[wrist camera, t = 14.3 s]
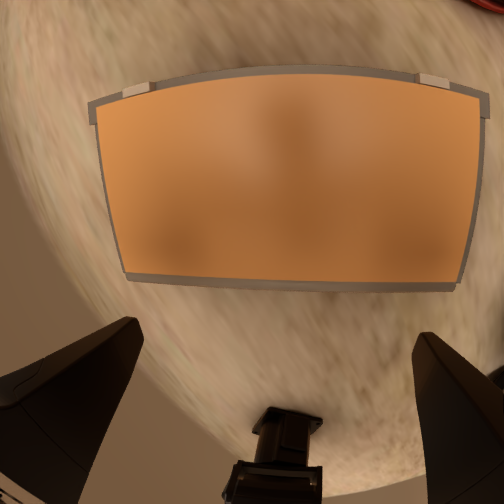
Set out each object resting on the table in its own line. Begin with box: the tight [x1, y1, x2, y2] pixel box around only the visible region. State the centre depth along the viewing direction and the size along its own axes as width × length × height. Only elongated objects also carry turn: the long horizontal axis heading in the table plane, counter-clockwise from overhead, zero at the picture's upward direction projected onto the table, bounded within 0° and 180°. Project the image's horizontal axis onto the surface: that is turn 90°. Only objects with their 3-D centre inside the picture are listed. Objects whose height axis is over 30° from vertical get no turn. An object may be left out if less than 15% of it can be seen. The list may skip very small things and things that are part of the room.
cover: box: [96, 74, 480, 293], centre depth 13 cm, size 10×19×1 cm, turn 93°
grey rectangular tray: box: [88, 65, 490, 283], centre depth 14 cm, size 11×22×5 cm, turn 93°
